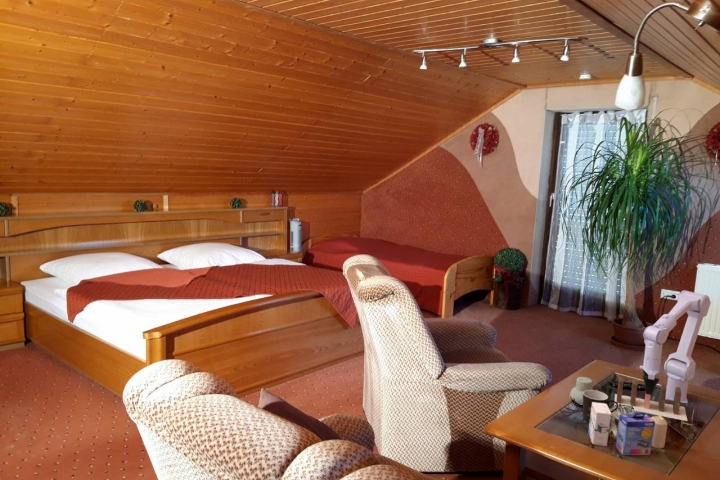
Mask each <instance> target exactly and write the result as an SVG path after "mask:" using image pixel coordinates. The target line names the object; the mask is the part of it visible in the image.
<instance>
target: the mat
mask: <svg viewBox="0 0 720 480" xmlns="http://www.w3.org/2000/svg"><path fill="white" fill-rule="evenodd" d="M630 399H631V396H628V395H623V394H622V398H621V404H622V405H630ZM614 401H616V402H617V393H614ZM644 401H645V398H644V399H643V398H640V397H639V398H638V397H636V401H635V406H633V408H634V410H635V412H638V413H646V414H650V415H653V416H657V415H660V416H662V417H663V418H664V417H665V418H671V419H675V420H679V421H680V420H681V421H684V422H688V418H687V413H686V412H687V411H686V408H685V406H680V407H679V414H678V415H676V414H674V413H673V404H669V403H665V405H664V412H661V411H659V407H658V405H659V401H653V400H650V405H649V409H645V408H644ZM613 403H614V402H613ZM619 404H620V403H618V405H619ZM615 405H616V403H614V405H613V406H615ZM634 410H633V411H634Z"/></svg>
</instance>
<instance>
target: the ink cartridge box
mask: <svg viewBox="0 0 720 480" xmlns="http://www.w3.org/2000/svg"><path fill="white" fill-rule="evenodd" d="M654 426H655V421H654V420H653V419H652V418H651V416H649V415H648V413H644V412H635V413H633V414H631V413H622V414H619V417H618V425H617V434H616V441H615V442H616V443H615V448H616V449H617V450H618V451H619V452H620V454H621V455H623V456H650V455H651V451H652V439H653V433H654Z"/></svg>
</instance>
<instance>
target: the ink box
mask: <svg viewBox="0 0 720 480" xmlns="http://www.w3.org/2000/svg"><path fill="white" fill-rule="evenodd" d="M610 411H611V410H610V408H609V406H608V405H607V404H604V403H596V402H592V407H591V415H590V423H588V431H587V433H588V437H589V438H590V441H591V443H592V445H596V446H602V447H607V446H608V439H609V434H610V433H609V432H610V427H611V420H612V419H611V418H612V413H611V412H610Z"/></svg>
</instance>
